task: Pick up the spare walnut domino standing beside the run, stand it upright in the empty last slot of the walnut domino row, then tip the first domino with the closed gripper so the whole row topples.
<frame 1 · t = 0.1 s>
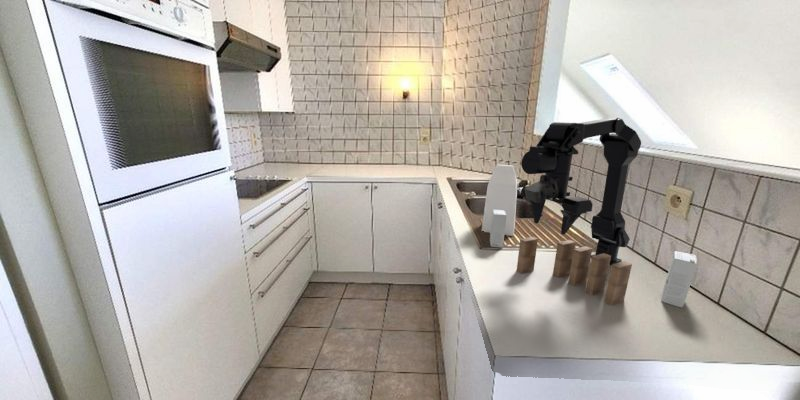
hand: (549, 228, 86), 15 cm above the counter, fingers open, 9 cm apart
milk: (498, 229, 128), on the counter
domino 4: (614, 300, 79), on the counter
skincare box: (496, 244, 113), on the counter
domino 2: (577, 282, 87), on the counter
domino 1: (561, 274, 92), on the counter
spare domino: (525, 270, 94), on the counter
skincare box 2: (672, 301, 79), on the counter
domino 3: (594, 291, 83), on the counter
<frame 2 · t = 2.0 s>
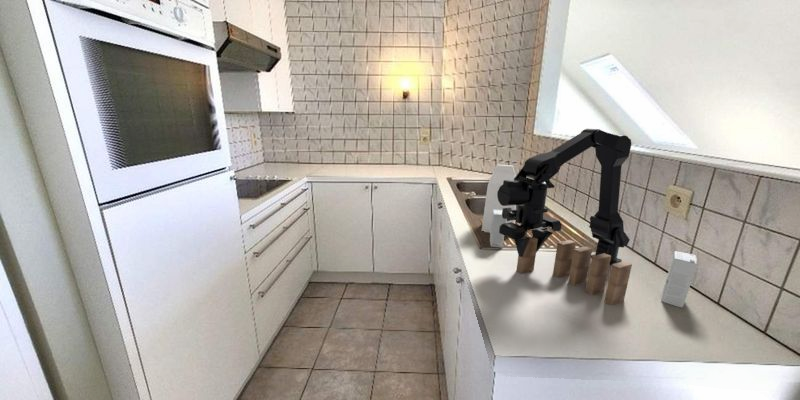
hand: (527, 254, 92), 5 cm above the counter, fingers closed on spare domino, 5 cm apart
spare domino: (525, 270, 94), on the counter, touching gripper
everything else where it was.
when the fingers open (6 cm above the counter, at t = 7.4 s): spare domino stays where it is, on the counter.
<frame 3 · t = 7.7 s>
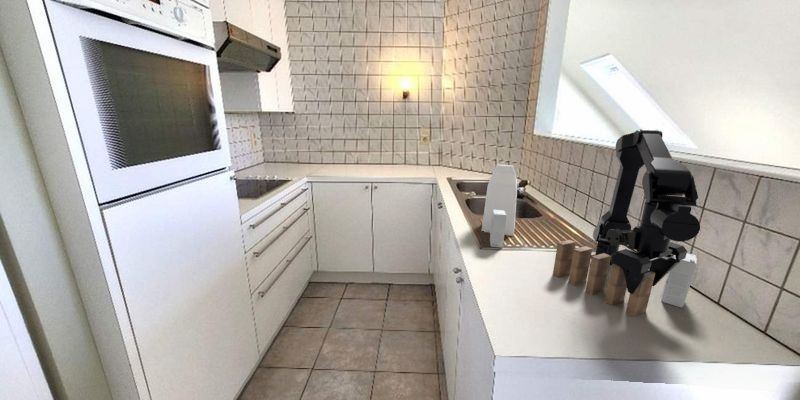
hand: (641, 289, 73), 6 cm above the counter, fingers open, 8 cm apart
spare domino: (635, 311, 74), on the counter
everything else where it was.
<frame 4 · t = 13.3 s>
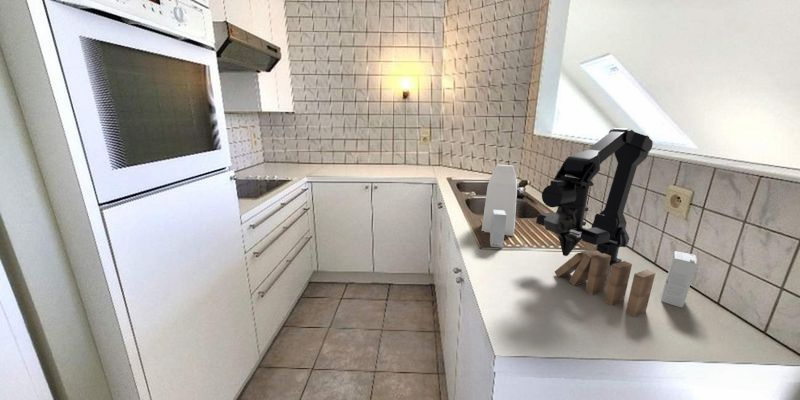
hand: (565, 255, 90), 6 cm above the counter, fingers closed
domino 2: (577, 281, 87), on the counter, tilted 18°
domino 1: (562, 272, 91), on the counter, tilted 35°
everything else where it was.
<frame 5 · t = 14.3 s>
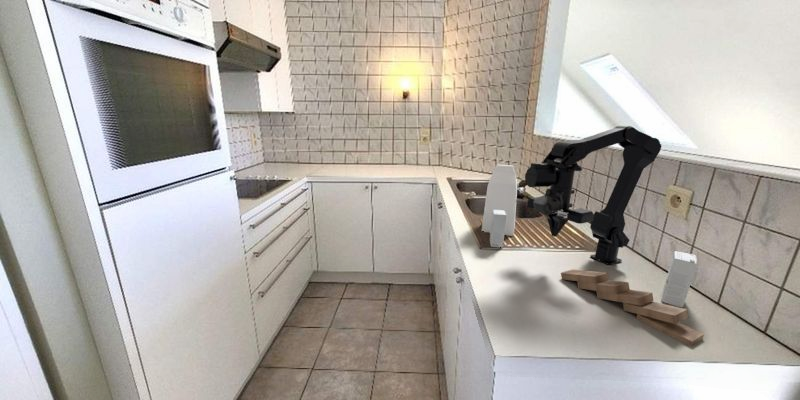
hand: (554, 236, 96), 9 cm above the counter, fingers closed
domino 4: (629, 303, 75), point 1 cm above the counter, tilted 74°, touching domino 3, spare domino
domino 2: (584, 282, 85), point 1 cm above the counter, tilted 70°, touching domino 1
domino 1: (567, 274, 90), point 1 cm above the counter, tilted 70°, touching domino 2
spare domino: (642, 314, 73), on the counter, tilted 90°, touching domino 4
domino 3: (603, 292, 81), point 1 cm above the counter, tilted 70°, touching domino 4
everything else where it was.
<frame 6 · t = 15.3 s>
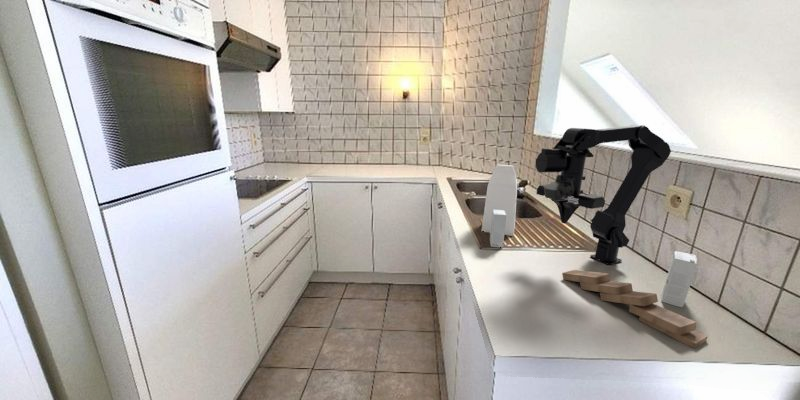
hand: (563, 222, 96), 13 cm above the counter, fingers closed
domino 4: (637, 305, 74), point 2 cm above the counter, tilted 85°, touching domino 3, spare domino
domino 3: (607, 294, 80), point 1 cm above the counter, tilted 67°, touching domino 4
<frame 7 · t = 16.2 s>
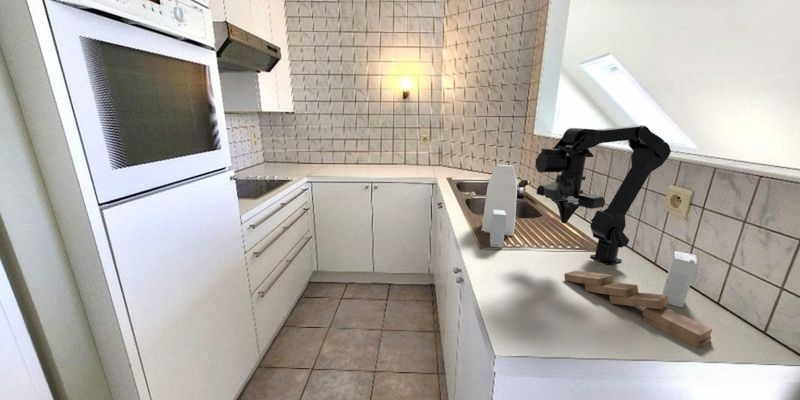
hand: (563, 222, 96), 13 cm above the counter, fingers closed
domino 4: (649, 309, 72), point 2 cm above the counter, tilted 90°
domino 2: (590, 285, 84), point 1 cm above the counter, tilted 71°, touching domino 1
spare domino: (648, 317, 72), on the counter, tilted 90°
domino 3: (614, 296, 79), point 1 cm above the counter, tilted 69°
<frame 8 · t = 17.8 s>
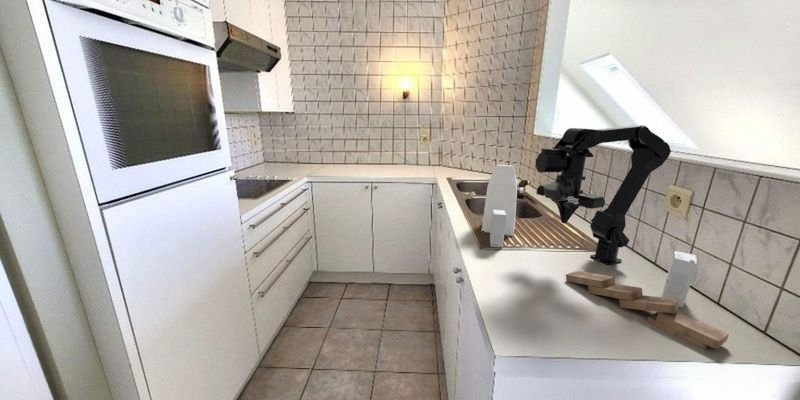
hand: (563, 222, 96), 13 cm above the counter, fingers closed
domino 4: (662, 314, 70), point 2 cm above the counter, tilted 90°, touching domino 3, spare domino
domino 2: (593, 287, 83), point 1 cm above the counter, tilted 73°, touching domino 1, domino 3
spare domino: (652, 317, 72), on the counter, tilted 90°, touching domino 4
domino 3: (622, 300, 77), point 1 cm above the counter, tilted 72°, touching domino 2, domino 4
at the end: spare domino tilted 90°; domino 4 tilted 90°; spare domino inside the target area (2.2 cm from its centre), on the counter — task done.
